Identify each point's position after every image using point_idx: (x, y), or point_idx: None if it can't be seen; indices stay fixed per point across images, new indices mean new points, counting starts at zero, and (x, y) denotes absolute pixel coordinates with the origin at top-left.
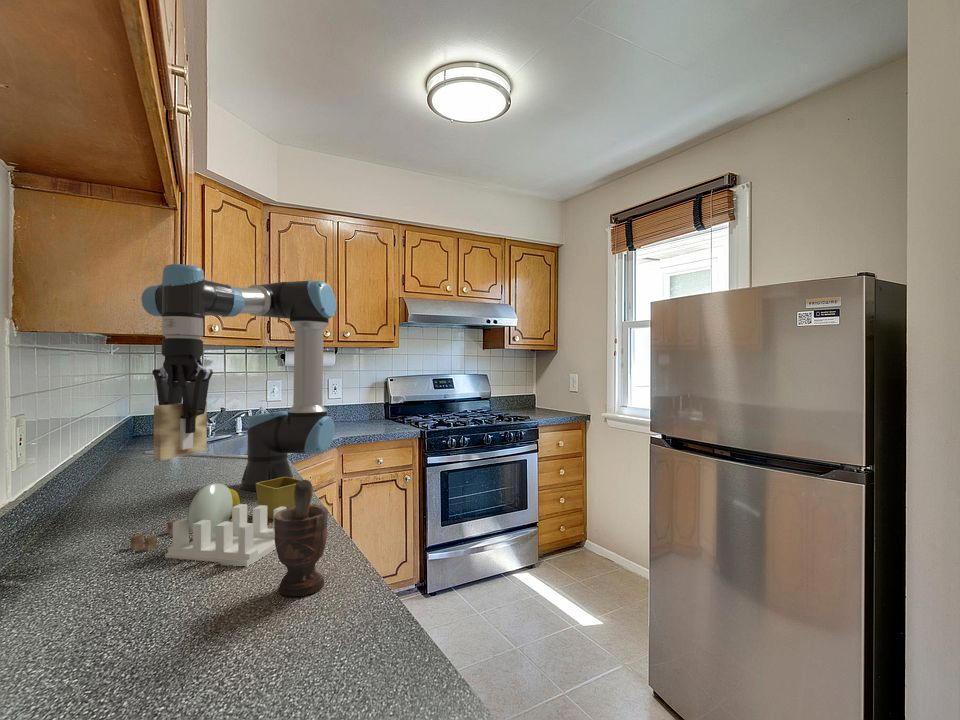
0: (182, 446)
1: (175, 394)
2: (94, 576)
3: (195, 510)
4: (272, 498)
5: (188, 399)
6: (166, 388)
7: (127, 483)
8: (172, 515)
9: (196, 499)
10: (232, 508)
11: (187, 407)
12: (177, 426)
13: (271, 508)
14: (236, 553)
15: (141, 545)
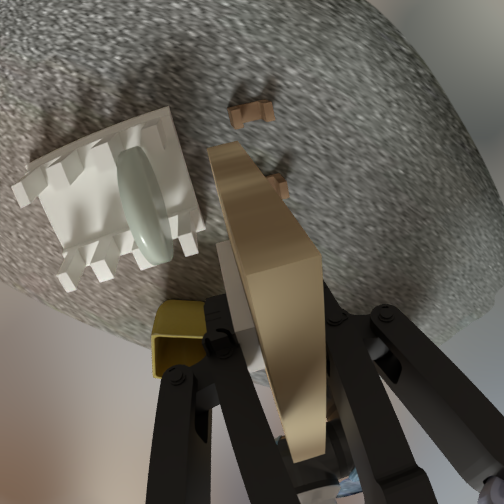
0: (218, 249)
1: (356, 436)
2: (212, 18)
3: (118, 161)
4: (164, 320)
5: (233, 440)
6: (447, 434)
7: (498, 281)
8: (365, 239)
9: (124, 175)
10: None
11: (218, 392)
12: (244, 288)
13: (170, 308)
14: (42, 164)
15: (261, 116)
